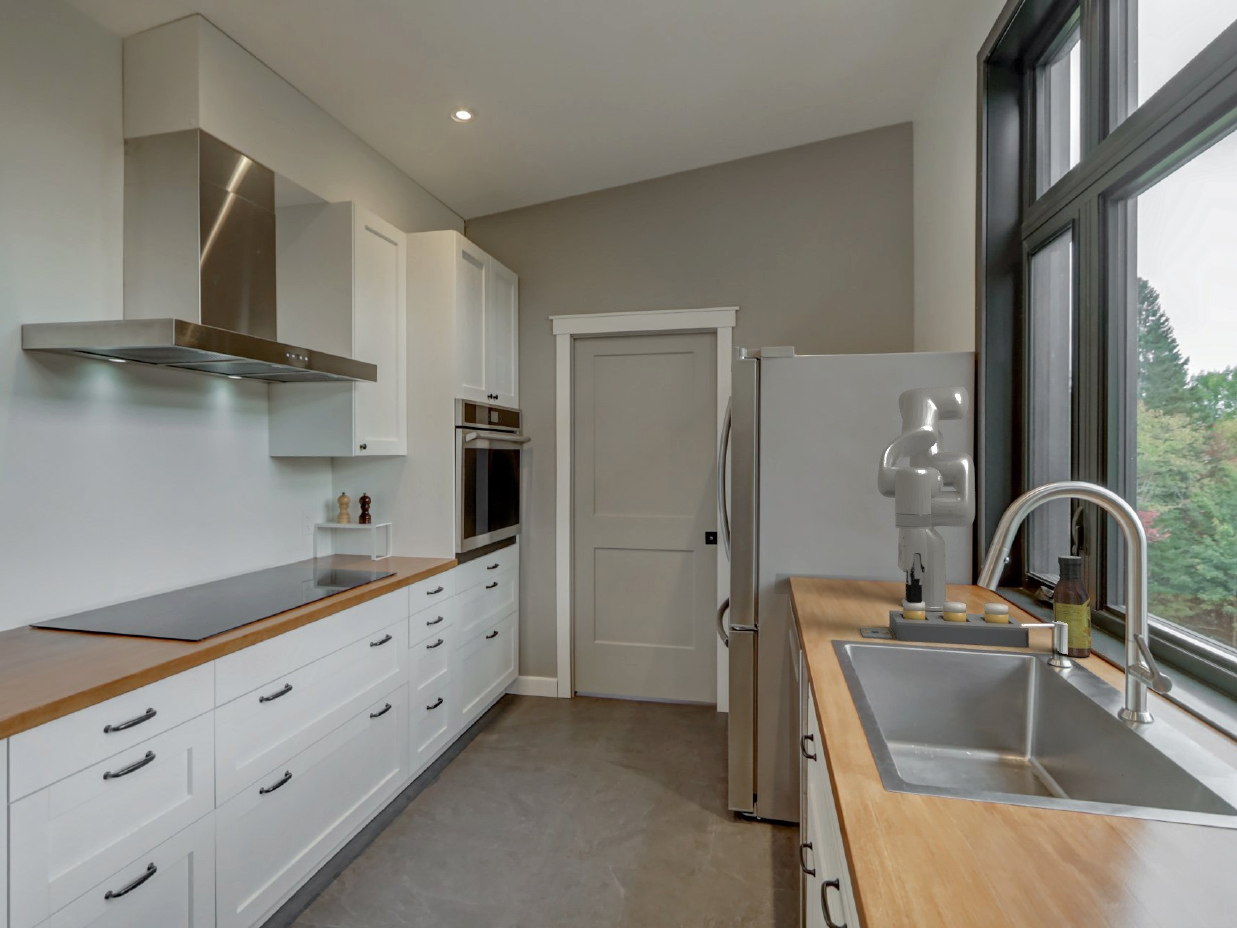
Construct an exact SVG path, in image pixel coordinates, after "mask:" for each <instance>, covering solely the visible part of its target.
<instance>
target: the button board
mask: <svg viewBox="0 0 1237 928" xmlns="http://www.w3.org/2000/svg"><path fill="white" fill-rule="evenodd" d="M888 613H889V615H888V616H889V617H888V619H889V620H888V622H889V627H888V628H889V629H890V630H891V633H892V634H893V636H894V637H895V639H896V641H898V642H899V641H901V642H916V643H917V642H918V643H919V642H921V643H936V644H937V643H938V644H956V645H960V644H961V645H971V646H973V645H974V646H991V647H993V646H994V647H995V646H996V647H1010V648H1011V647H1012V648H1030V643H1029V642H1030V641H1029V640H1030V634H1029V633H1030V632H1029V627H1028V628H1020V627H1019V625H1020V624H1023V623H1022V622H1020V621H1019V620H1017V618H1015V617H1014V616H1012V615H1011V614H1010V615H1009V614H1008V620H1009V624H1000V623H986V622H985V613H984V614H981V613H966V622H956V621H944V620H943V612H942V611H925V620H912V619H903V610H891V609H890V610H888Z"/></svg>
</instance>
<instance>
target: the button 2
mask: <svg viewBox="0 0 1237 928" xmlns="http://www.w3.org/2000/svg"><path fill="white" fill-rule="evenodd" d="M984 614H985V622H986V623H1000V624H1009V620H1008V615H1009V605H1008V604H1003V603H997V602H995V603H994V602H992V603H991V602H989V603H984Z"/></svg>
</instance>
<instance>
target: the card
mask: <svg viewBox="0 0 1237 928" xmlns="http://www.w3.org/2000/svg"><path fill="white" fill-rule="evenodd" d="M859 631H860V632H861V635H862V638H863V639H880V640H881V639H882V640H892V639H893V638H892V635H891V634H890V631H889V630H888V628H882V627H881V628H880V627H879V628H878V627H864V626H863V627H859Z"/></svg>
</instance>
